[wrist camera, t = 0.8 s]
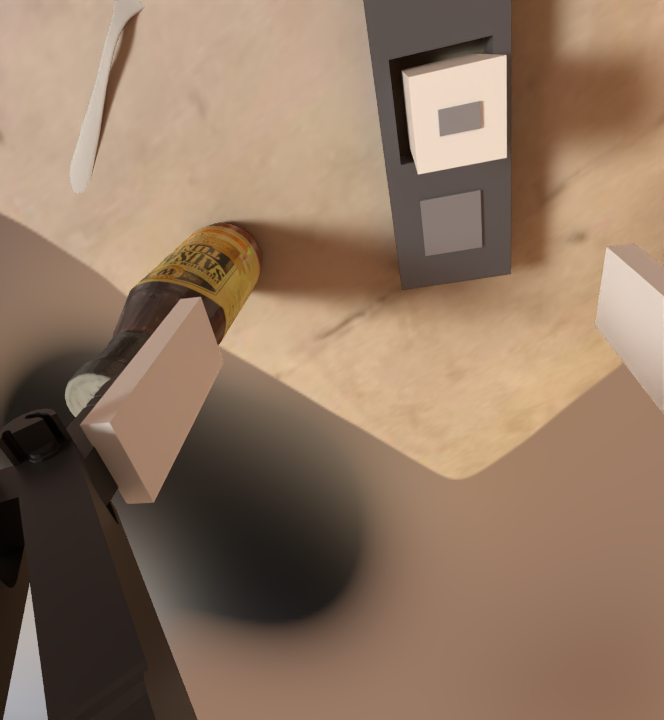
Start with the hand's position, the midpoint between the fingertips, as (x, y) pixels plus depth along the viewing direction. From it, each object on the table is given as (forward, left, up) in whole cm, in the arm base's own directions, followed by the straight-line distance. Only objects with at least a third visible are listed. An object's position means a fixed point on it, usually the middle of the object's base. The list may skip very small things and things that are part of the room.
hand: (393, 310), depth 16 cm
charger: (-4, +4, -22) cm, 23 cm away
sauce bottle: (+4, -14, -22) cm, 27 cm away
